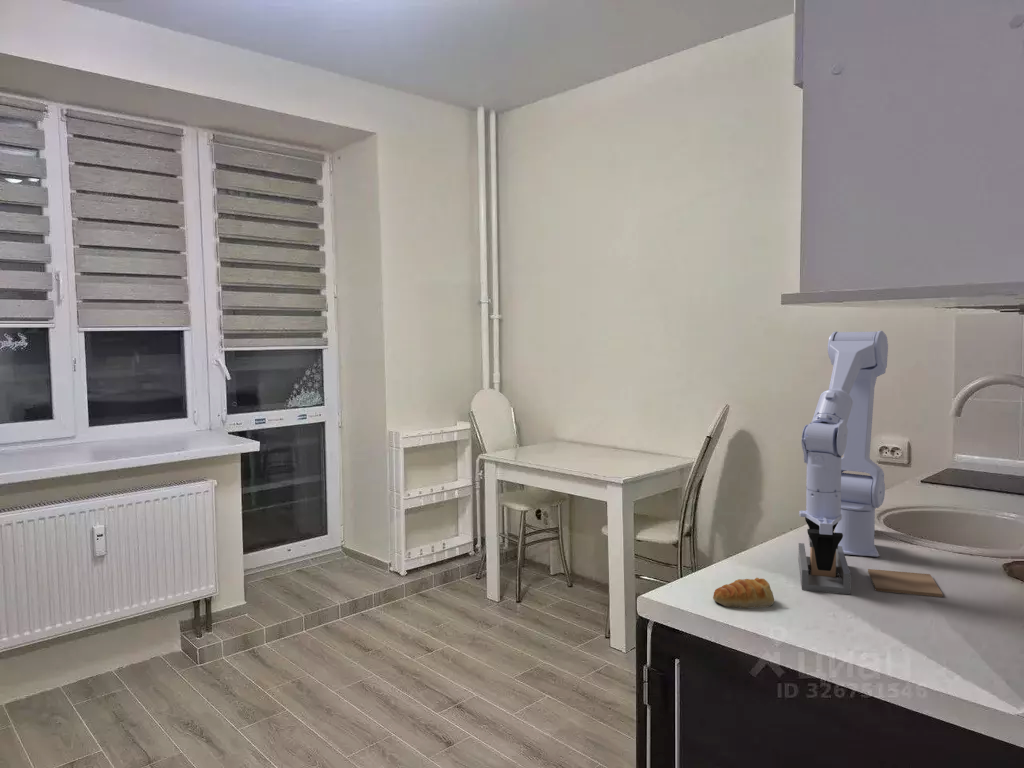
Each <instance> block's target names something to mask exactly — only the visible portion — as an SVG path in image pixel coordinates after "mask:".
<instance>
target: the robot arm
mask: <svg viewBox="0 0 1024 768" xmlns="http://www.w3.org/2000/svg"><path fill="white" fill-rule="evenodd" d="M827 353H828V358H829V359H830V363H831V365H832V371H831V376H830V382H829V386H828V389H827V390H824V391H823V392H821V394H820V395H819V398H818V400H817V404H816V407H815V411H814V414H813V416H812V419H811V421H810V422H809V423H808V424H805V425H804V426H803V429H802V432H801V449H802V451H803V452H802V453H803V463H804V464H806V475H805V476H806V478H805V479H806V487H805V488H806V489H805V490H806V491H805V492H806V493H805V494H806V495H805V498H806V500H805V501H806V502H805V503H806V504H805V507H806V508H805V510H799V511H798V512H799V513H798V515H799V517H802V518H804V519H805V520H804V521H805V522H806V524H807V527H808V528H807V530H806V531H807V535H808V538H809V537H810V539H811V541H812V544H813V547H814V551H815V558H816V564H817V568H818V570H825V571H831V568H832V565H833V561H834V556H835V552H836V549H837V547H838V546H842V549H843V552H844V555H849V556H850V555H852V556H862V557H863V556H864V557H875V558H877V557H879V556H880V554H879V551H878V549H877V548H876V545H875V527H876V526H875V524H876V520H875V519H876V509H878V508H880V507H881V506H882V505H883V503H884V500H885V495H886V484H885V472H884V470H883V469H882V467H881V466H879V465H878V464H877V463H876V462H875V461H873V460H872V459H871V458H870V457H871V456H870V455H871V441H872V428H873V414H874V399H875V386H876V381H877V377H880V376H882V375H884V374H886V369H887V367H888V356H889V355H888V354H889V343H888V337H887V334H886V333H885V332H884V331H883V330H878V331H837V330H836V331H833V332H832V333H831V334H830V335H829V337H828V341H827ZM842 456H843V457H842ZM847 471H848V472H847ZM849 472H857V473H859V474H857V473H849ZM860 473H866V474H860ZM867 474H868V475H867Z"/></svg>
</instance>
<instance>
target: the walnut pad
mask: <svg viewBox="0 0 1024 768" xmlns="http://www.w3.org/2000/svg"><path fill="white" fill-rule="evenodd" d="M867 573H868V575H869V577H870V581H871V583H872V586H873V588H874V590H875V592H876V591H877V592H884V593H886V592H887V593H894V594H895V593H897V594H906V595H918V596H927V597H936V598H937V597H940V598H943V597H944V594H943V592H942V591H941V589H940V587H939V586H938V584H937V582H936V581H935V580H934V578H933V577H932V575H931V574H930V573H920V572H919V573H918V572H907V571H896V570H885V569H884V570H882V569H873V568H872V569H870V568H868V569H867Z"/></svg>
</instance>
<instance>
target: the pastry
mask: <svg viewBox="0 0 1024 768" xmlns="http://www.w3.org/2000/svg"><path fill="white" fill-rule="evenodd" d="M712 599H713V601H714V602H716V603H718V604H719V605H722V606H724V607H727V608H740V607H741V609H748V608H751V607H754V608H767V606H768V607H771V605H772V606H773V604H774V603H775V597H774V593H773V590H772V589H771V586H770V583H769V582H768V581H767V580H766V579H765V578H760V577H756V578H754V579H753V578H745V579H744V578H743V579H742V578H741V579H737V580H734V581H733V582H731V583H729V584H728V583H727V584H723V585H722V586H720V587H717V588H715V590H714V592H713V596H712ZM751 609H752V608H751Z"/></svg>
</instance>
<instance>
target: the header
mask: <svg viewBox="0 0 1024 768" xmlns="http://www.w3.org/2000/svg"><path fill="white" fill-rule="evenodd" d="M797 558H798V568H799V577H800V586H801V590H802V591H811V592H823V593H833V594H843V595H851V581H852V580H851V578H852V577H851V576H852V574H851V571H850V568H849V565H848V561H847V559H846V558H847V557H846V554H844V552H843V549H842V546H838V549H836V574H838V577H837V576H836V577H827V576H816V575H811V574H809V571H810V556H807V552H806V546H805V543H803V542H802V543H801V542H798V557H797Z"/></svg>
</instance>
